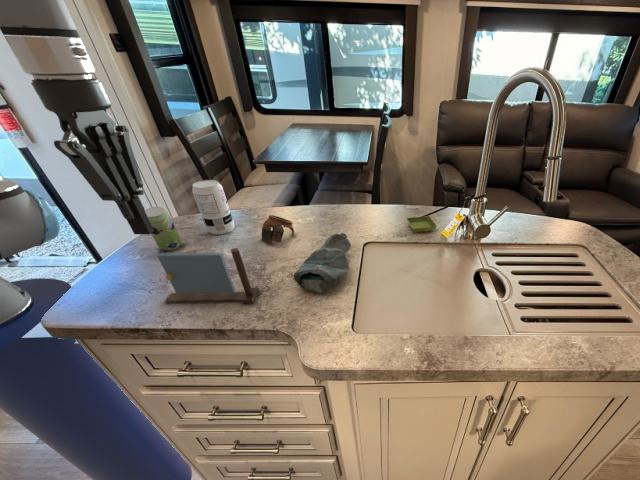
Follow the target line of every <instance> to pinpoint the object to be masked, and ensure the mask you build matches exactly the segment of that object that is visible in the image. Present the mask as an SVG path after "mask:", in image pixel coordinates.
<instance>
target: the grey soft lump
mask: <svg viewBox="0 0 640 480" xmlns="http://www.w3.org/2000/svg"><path fill="white" fill-rule="evenodd" d="M351 247H352V243H351V241H350V240H349V239H348V235H347V234H346V233H334V234H331V235H330V236H329V237H328V238H327V239H326V240H325V241H324V243H323V244H322V245H321V247H319V248H318V249H316V250H315V251H313V252H312V253H311V254H310V255H309V257H307V258H306V259H305V260H304V261H303V262H302V264H301V265H299V267H298V268H297V270H296V271H295V272H294V274H293V279H294V281H295V282H296V283H297V285H298V286H299V287H301V288H302V289H304V290H306V291H308V292H312V293H318V294H326V293H329V292H332V291H333V290H335V289H336V288H337V287H338V286H339V285H340V283H341V281H342V280H343V278H344V277H345V275H346V274H347V272H348V270H349V266H350V259H349V257H348V256H347V253H348V252H349V251H350V249H351Z"/></svg>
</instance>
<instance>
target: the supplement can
mask: <svg viewBox="0 0 640 480" xmlns="http://www.w3.org/2000/svg"><path fill="white" fill-rule="evenodd" d="M191 193H192V195H193V197H194V200H195V203H196V206H197V208H198V210H199V213H200V215H201V218H202V221H203V224H204V227H205V230H206V231H207V232H208V233H209V234H211V235H217V236H219V235H225V234H229V233H230V232H232V231H233V230H234V228H235V223H234V219H233V216H232V213H231V209H230V207H229V204H228V200H227V197H226V193H225V191H224V187H223V186H222V184H220V182H219V181H218V180H216V179H205V180H199V181H196V182H193V183H192V189H191Z"/></svg>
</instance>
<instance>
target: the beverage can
mask: <svg viewBox="0 0 640 480" xmlns="http://www.w3.org/2000/svg"><path fill="white" fill-rule="evenodd" d="M145 213H146V215H147V217H148V219H149V221H150V223H151V225H152V227H153V229H154V231H153V232H152V233H151V234H150V235H151V236H152V238H153V239H154V241H155V243H156V245H157V247H158V248H159V249H160V250H163V251H173V250H176V249H178V248H179V247H180V246H181V245H182V243H183V241H182V239H181V236H180V234H179V232H178V230H177V229H176V226H175V224H174V222H173V220H172V217H171V216H170V213H169V212H168V211H167V210H165V209H164V208H163V207H160V206H153V207H149V208H146V209H145Z"/></svg>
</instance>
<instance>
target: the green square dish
mask: <svg viewBox="0 0 640 480" xmlns="http://www.w3.org/2000/svg"><path fill="white" fill-rule="evenodd" d="M406 221H407V223H408V224H409V226H410V228H411V229H412V231H413V232H414V233H420V232H421V233H422V232H432V231H435V229H437V227H438V225H437V224H436V223H435V221H434V219H433V218H432V217H431V216H430V215H425V216H413V217H411V216H409V217H406Z"/></svg>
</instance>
